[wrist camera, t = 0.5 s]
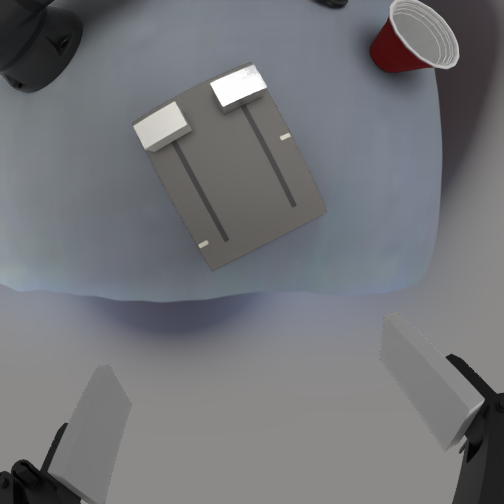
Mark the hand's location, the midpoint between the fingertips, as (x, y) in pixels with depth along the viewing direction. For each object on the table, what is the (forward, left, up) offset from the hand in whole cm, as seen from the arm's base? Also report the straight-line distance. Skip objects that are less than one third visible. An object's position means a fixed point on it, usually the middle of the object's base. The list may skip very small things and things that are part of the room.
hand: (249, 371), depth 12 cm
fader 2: (-16, +8, -22) cm, 29 cm away
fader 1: (-16, -1, -22) cm, 28 cm away
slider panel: (-9, +4, -26) cm, 27 cm away
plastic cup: (-15, +33, -26) cm, 45 cm away
